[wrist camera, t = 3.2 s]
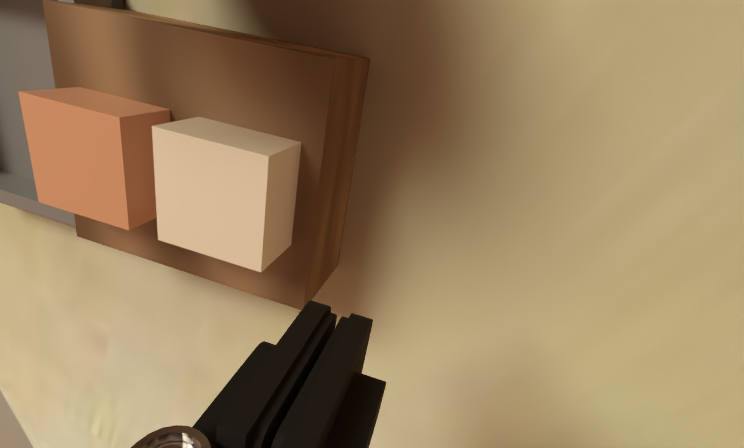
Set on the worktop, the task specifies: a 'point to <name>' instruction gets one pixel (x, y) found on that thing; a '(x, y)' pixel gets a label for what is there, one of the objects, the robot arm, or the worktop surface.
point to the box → (3, 108)
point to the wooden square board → (231, 106)
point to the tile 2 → (225, 190)
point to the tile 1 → (93, 153)
